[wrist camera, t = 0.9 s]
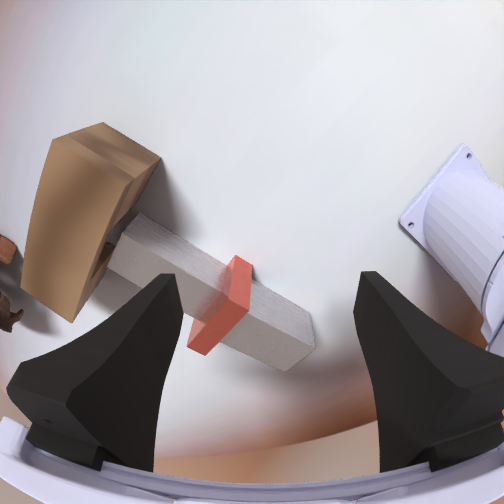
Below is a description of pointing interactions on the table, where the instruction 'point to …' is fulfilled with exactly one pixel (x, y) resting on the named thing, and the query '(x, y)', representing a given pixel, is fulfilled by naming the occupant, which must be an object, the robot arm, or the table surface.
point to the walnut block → (80, 213)
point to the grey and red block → (216, 296)
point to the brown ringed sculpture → (3, 317)
